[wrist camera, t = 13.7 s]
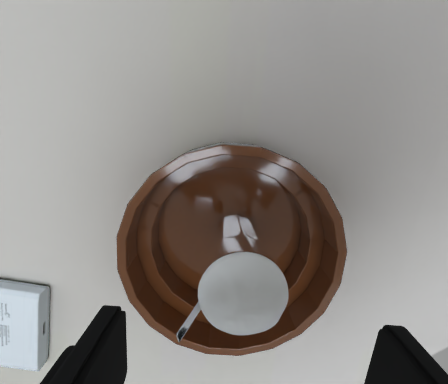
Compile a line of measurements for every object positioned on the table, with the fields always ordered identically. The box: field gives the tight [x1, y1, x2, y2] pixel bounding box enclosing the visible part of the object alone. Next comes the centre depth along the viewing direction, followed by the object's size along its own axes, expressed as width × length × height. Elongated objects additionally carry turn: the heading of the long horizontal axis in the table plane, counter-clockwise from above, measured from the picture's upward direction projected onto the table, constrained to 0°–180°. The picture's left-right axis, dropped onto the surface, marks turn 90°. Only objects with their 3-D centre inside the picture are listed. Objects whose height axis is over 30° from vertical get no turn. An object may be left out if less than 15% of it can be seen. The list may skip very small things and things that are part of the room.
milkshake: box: [176, 214, 288, 342], centre depth 15 cm, size 4×5×10 cm
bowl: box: [117, 142, 347, 356], centre depth 18 cm, size 15×15×5 cm
